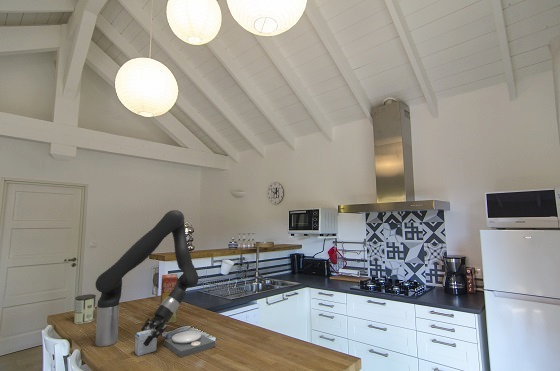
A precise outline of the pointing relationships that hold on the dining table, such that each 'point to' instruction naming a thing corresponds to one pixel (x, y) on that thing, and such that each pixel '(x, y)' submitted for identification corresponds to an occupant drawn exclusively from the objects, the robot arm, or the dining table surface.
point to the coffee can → (84, 309)
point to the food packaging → (168, 291)
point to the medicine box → (140, 339)
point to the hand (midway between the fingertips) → (141, 343)
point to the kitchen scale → (188, 343)
